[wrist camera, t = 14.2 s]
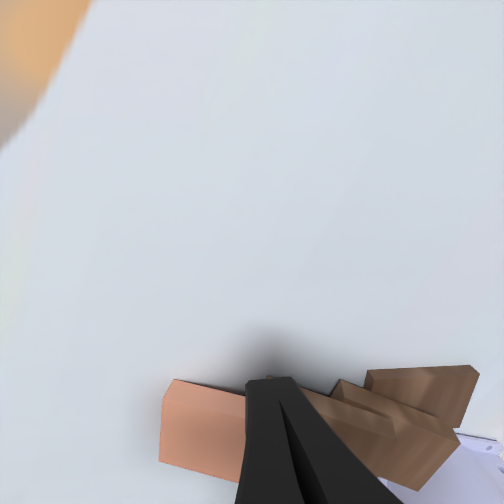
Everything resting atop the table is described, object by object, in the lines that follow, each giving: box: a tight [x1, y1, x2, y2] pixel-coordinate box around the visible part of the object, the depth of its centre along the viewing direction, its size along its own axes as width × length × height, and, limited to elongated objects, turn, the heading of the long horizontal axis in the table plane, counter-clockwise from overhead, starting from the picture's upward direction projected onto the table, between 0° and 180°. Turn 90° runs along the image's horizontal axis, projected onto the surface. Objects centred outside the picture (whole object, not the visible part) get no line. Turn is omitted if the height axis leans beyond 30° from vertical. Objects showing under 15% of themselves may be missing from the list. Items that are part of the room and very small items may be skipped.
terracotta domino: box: [159, 379, 246, 483], centre depth 20 cm, size 2×5×8 cm
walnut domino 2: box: [363, 365, 480, 428], centre depth 24 cm, size 2×5×8 cm
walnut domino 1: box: [267, 376, 397, 478], centre depth 21 cm, size 2×5×8 cm
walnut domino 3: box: [329, 380, 461, 492], centre depth 22 cm, size 2×5×8 cm
